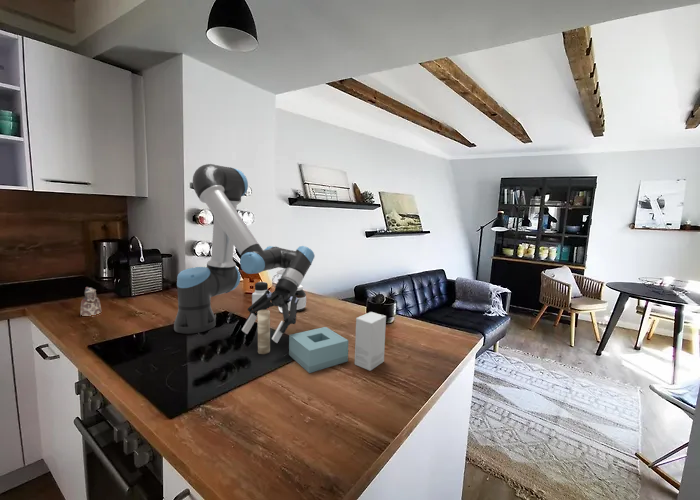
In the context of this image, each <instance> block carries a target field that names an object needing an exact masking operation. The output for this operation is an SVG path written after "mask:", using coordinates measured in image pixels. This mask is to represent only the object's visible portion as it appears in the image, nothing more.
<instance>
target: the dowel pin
mask: <svg viewBox="0 0 700 500" xmlns="http://www.w3.org/2000/svg"><path fill="white" fill-rule="evenodd" d="M257 313H258V315H257V353H258V354H259V355H267V354H269V353H270V352H271V311H270V310H269V309H266V310H259V311H258V312H257Z"/></svg>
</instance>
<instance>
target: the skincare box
mask: <svg viewBox="0 0 700 500" xmlns="http://www.w3.org/2000/svg"><path fill="white" fill-rule="evenodd" d="M355 321H356V322H355V343H354V345H355V346H354V365H355V366H357V367H360V368H362V369H364V370H367V371H373V370H374V369H375V368H377V367H378V366H380V365H381V364H383V362H385V344H386V343H385V342H386V328H387V326H386V325H387V324H386V323H387V322H386V321H387V315H384V314H380V313H377V312H373V311H369V312H367V313H365V314H363V315H360V316H358V317H356V318H355Z"/></svg>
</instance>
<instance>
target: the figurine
mask: <svg viewBox="0 0 700 500" xmlns="http://www.w3.org/2000/svg"><path fill="white" fill-rule="evenodd" d="M96 291H97V289H95V288H93V287H89V286H86V287H85V289H84V297H83V298H82V300H81V302H80V309H79V310H80V316H81V315H82V316H91V315H96V314H99V313H101V312H102V306H101V301H100V300H101V299H100V298H99V297H97V292H96ZM101 314H102V313H101ZM99 315H100V314H99Z"/></svg>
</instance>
